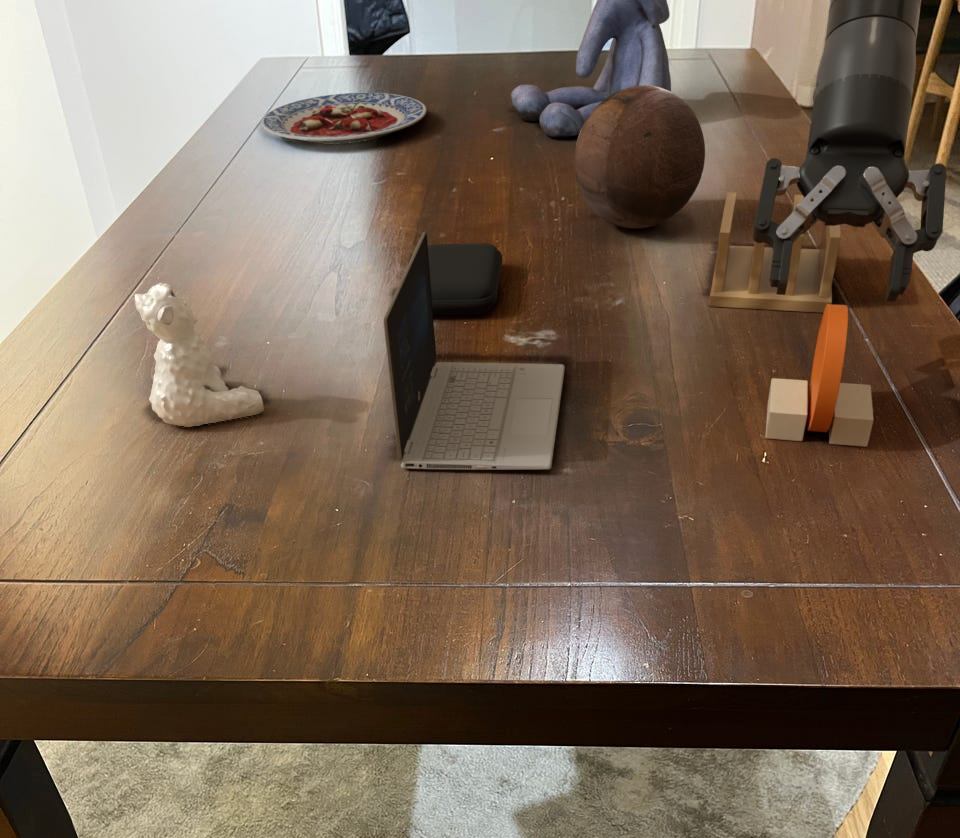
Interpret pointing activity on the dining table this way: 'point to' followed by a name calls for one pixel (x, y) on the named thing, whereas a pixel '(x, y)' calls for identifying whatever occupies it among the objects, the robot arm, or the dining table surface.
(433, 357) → the laptop
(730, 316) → the dining table surface
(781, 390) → the cubes
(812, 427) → the disc
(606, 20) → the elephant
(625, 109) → the wooden sphere
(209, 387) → the white creature statuette
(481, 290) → the carrying case
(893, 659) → the dining table surface
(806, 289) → the rack
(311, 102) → the ceramic plate
